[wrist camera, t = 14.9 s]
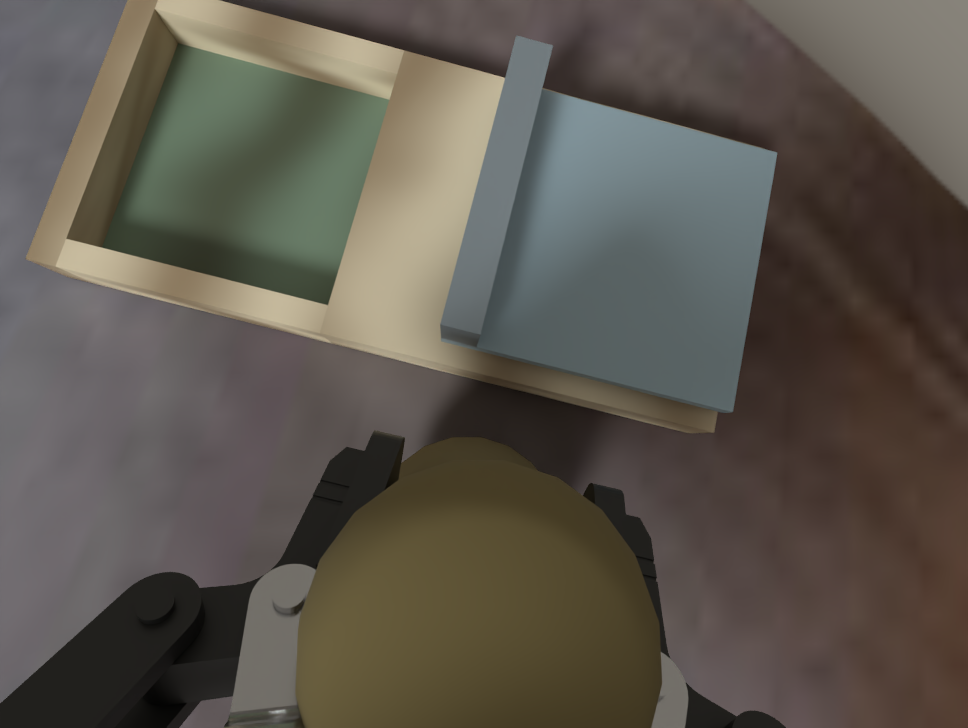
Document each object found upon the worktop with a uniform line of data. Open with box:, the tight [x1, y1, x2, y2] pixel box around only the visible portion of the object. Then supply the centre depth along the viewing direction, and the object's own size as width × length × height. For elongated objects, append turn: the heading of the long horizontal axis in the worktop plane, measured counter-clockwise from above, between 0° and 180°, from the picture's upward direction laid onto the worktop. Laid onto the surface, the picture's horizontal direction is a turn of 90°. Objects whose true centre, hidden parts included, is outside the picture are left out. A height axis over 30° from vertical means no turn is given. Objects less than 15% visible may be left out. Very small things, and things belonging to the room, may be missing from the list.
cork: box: [295, 437, 662, 728], centre depth 12 cm, size 6×6×11 cm
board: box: [26, 0, 764, 433], centre depth 20 cm, size 24×11×2 cm, turn 76°
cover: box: [440, 36, 777, 413], centre depth 18 cm, size 10×10×3 cm
